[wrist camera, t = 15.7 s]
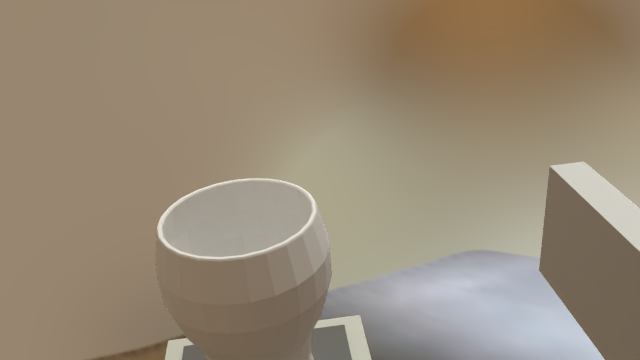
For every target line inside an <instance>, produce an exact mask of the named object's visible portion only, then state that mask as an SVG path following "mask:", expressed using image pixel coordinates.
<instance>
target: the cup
mask: <svg viewBox="0 0 640 360" xmlns="http://www.w3.org/2000/svg"><path fill="white" fill-rule="evenodd" d="M156 271H157V278H158V281H159V286H160V290H161V293H162V297H163V301H164V305H165V306H166V308H167V309H168V311H169V312H170V313H171V315H172V316H173V318H174V319H175V321H176V322H177V324H178V325H179V327H180V328H181V330H182V331H183V333H184V334H185V336H186V337H187V338H188V340H189V341H190V342H192V343H193V344H194V345H195V346H196V347H197V348H199V349H200V350H201V351H202V352H203V353H204V354H205V356H206V358H207V360H314V358H313V355H312V353H311V338H312V331H313V329H314V327H315V325H316V323H317V321H318V319H319V318H320V316H321V313H322V310H323V307H324V303H325V300H326V296H327V292H328V288H329V284H330V279H331V275H332V271H331V259H330V248H329V239H328V234H327V231H326V228H325V226H324V223H323V220H322V217H321V215H320V212H319V209H318V207H317V204H316V202H315V200H314V199H313V198H312V196H311V195H310V193H309V192H307V191H306V190H304V189H303V188H301V187H300V186H297V185H294V184H291V183H289V182H286V181H280V180H274V179H259V178H258V179H256V178H250V179H240V180H232V181H227V182H223V183H218V184H214V185H211V186H208V187H205V188H202V189H199V190H197V191H195V192H192V193H190V194H188V195H186V196H184V197H183V198H181V199H180V200H178V201H177V202H175V203H174V204H173V205H171V206H170V207H169V208H168V209H167V210H166V212H165V213H164V214H163V215H162V216H161V218H160V221H159V224H158V226H157V235H156Z"/></svg>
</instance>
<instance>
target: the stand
mask: <svg viewBox="0 0 640 360" xmlns="http://www.w3.org/2000/svg"><path fill="white" fill-rule="evenodd" d="M311 353H312V355H313V358H314V360H371V356H370V353H369V349H368V345H367V341H366V337H365V333H364V330H363V326H362V322H361V318H360V315H356V316H349V317H341V318H334V319H326V320H319V321H317V323H316V325H315V327H314V329H313V331H312V338H311ZM165 360H207V358H206V356H205V354H204V353H203V352H202V351H201V350H200V349H199V348H197V347H196V346H195V345H194V344H193V343H192V342H190V341H189V340H188V338H185V339H177V340H170V341H168V346H167V351H166V357H165Z"/></svg>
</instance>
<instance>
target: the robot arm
mask: <svg viewBox="0 0 640 360" xmlns="http://www.w3.org/2000/svg"><path fill="white" fill-rule="evenodd" d="M545 209H546V210H545V218H544V228H543V238H542V248H541V257H540V267H539V271H540V272H541V273H542V275H543V276H544V277H545V279H546V280H547V281H548V283H549V284H550V286H551V287H552V288H553V290H554V291H555V292H556V294H557V295H558V296H559V298H560V299H561V300H562V302H563V303H564V304H565V306H566V307H567V309H568V310H569V311H570V313H571V314H572V315H573V317H574V318H575V319H576V321H577V322H578V323H579V325H580V326H581V328H582V329H583V330H584V332H585V333H586V334H587V336H588V337H589V338H590V340H591V341H592V342H593V344H594V345H595V346H596V348H597V349H598V351H599V352H600V353H601V355H602V356H603V357H604V359H605V360H640V208H638V207H637V206H636V205H635V204H634V203H633V202H631V201H630V200H629V199H628V198H627V197H625V196H624V195H623V194H622V193H621V192H619V191H618V190H617V189H616V188H615V187H614V186H612V185H611V184H610V183H609V182H607V181H606V180H605V179H604V178H603V177H602V176H600V175H599V174H598V173H597V172H596V171H594V170H593V169H592V168H591V167H590V166H589V165H587V164H586V163H585V162H578V163H570V164H562V165H554V166H550V169H549V179H548V189H547V198H546V208H545Z"/></svg>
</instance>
